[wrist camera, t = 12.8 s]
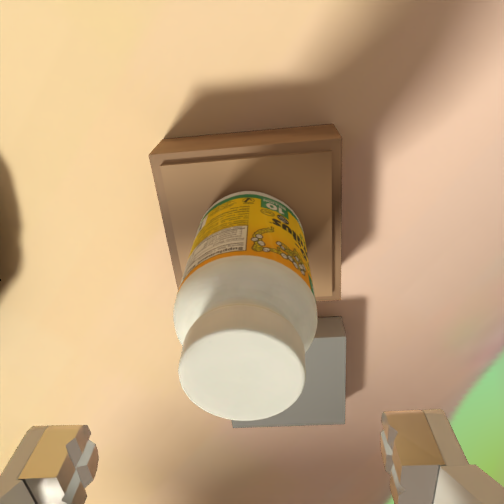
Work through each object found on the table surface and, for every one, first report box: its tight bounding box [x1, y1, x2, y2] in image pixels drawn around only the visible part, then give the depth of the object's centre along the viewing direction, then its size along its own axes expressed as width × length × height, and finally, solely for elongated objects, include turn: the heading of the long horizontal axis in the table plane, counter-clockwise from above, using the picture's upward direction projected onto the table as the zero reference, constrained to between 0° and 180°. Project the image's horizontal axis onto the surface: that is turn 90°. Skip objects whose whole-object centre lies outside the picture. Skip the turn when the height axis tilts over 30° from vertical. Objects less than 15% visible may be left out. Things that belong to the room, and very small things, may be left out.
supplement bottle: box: [173, 191, 317, 421], centre depth 17 cm, size 5×5×10 cm
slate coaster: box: [232, 317, 346, 428], centre depth 29 cm, size 8×8×2 cm
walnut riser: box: [149, 124, 342, 302], centre depth 23 cm, size 9×9×3 cm
